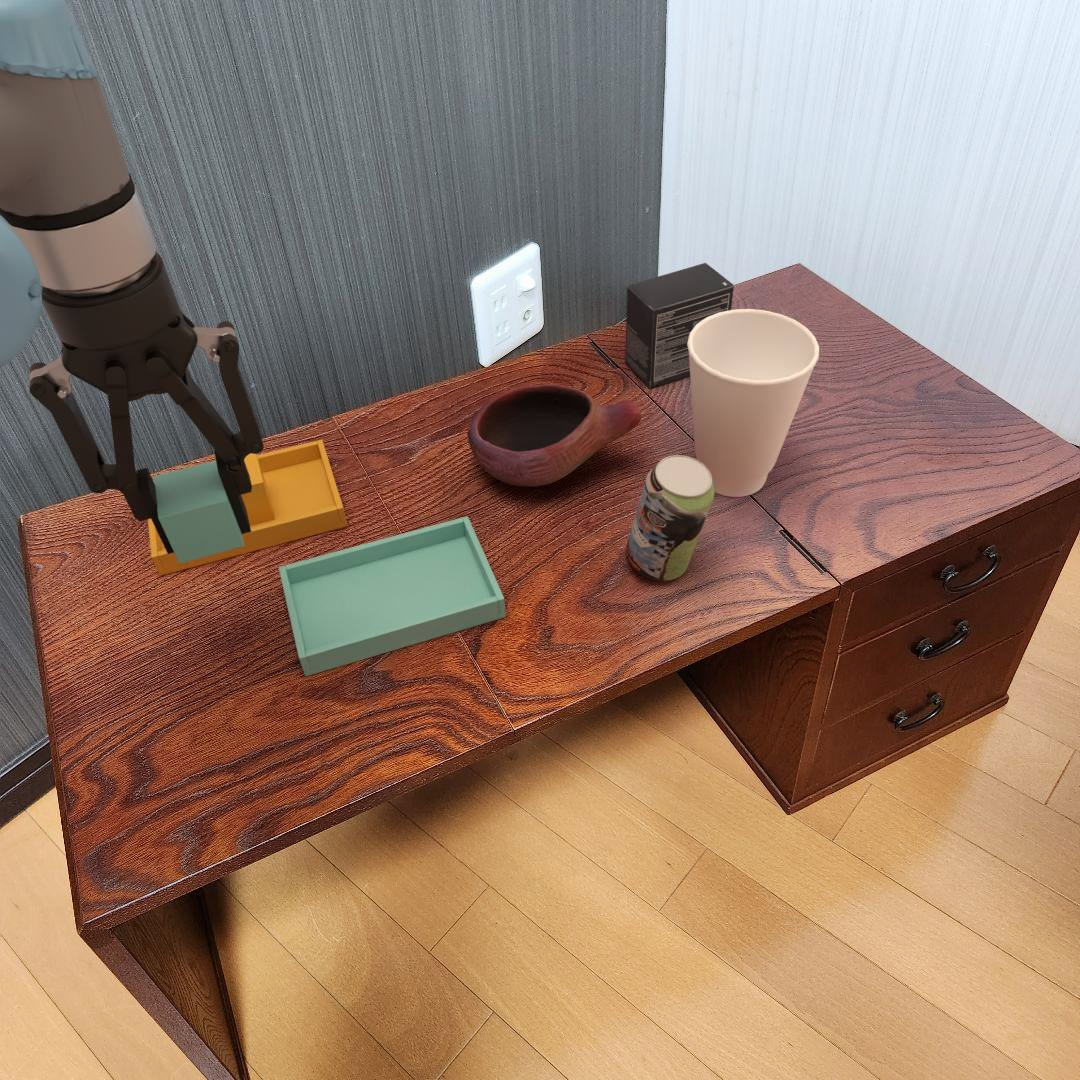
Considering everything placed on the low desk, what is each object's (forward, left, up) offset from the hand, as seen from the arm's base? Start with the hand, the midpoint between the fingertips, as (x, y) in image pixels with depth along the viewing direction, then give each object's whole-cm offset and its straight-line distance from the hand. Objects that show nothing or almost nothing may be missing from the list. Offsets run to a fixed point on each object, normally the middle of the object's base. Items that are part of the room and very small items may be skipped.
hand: (207, 531), depth 74 cm
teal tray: (+13, -1, -13) cm, 19 cm away
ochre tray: (+2, +16, -13) cm, 21 cm away
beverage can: (+38, -6, -13) cm, 41 cm away
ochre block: (+2, +16, -13) cm, 20 cm away
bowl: (+33, +12, -13) cm, 38 cm away
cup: (+50, +3, -13) cm, 52 cm away
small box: (+53, +23, -13) cm, 59 cm away
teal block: (0, 0, 0) cm, 0 cm away
